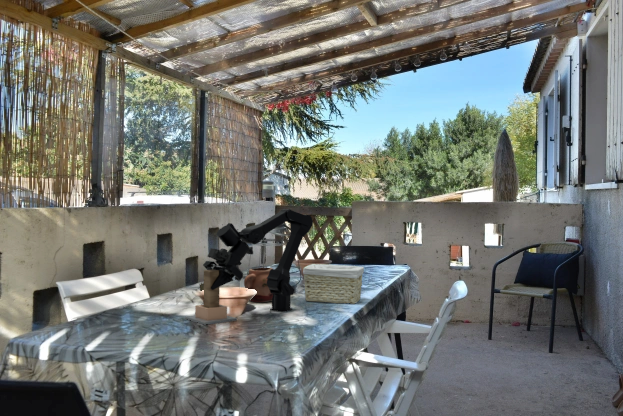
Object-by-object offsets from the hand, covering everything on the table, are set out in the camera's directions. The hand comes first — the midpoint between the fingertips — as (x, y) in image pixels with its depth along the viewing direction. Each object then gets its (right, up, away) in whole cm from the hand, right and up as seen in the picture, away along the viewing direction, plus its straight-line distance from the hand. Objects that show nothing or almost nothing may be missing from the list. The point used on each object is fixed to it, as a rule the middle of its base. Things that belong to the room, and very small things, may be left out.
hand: (208, 288), depth 212 cm
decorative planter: (+15, -11, +41) cm, 45 cm away
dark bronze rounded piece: (-6, -11, +36) cm, 38 cm away
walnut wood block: (+1, -7, +1) cm, 7 cm away
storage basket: (+46, -12, +46) cm, 66 cm away
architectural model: (+6, -11, +75) cm, 76 cm away
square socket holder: (+1, -11, +1) cm, 11 cm away
